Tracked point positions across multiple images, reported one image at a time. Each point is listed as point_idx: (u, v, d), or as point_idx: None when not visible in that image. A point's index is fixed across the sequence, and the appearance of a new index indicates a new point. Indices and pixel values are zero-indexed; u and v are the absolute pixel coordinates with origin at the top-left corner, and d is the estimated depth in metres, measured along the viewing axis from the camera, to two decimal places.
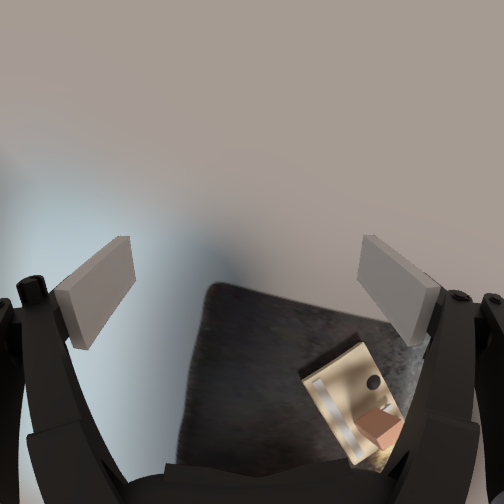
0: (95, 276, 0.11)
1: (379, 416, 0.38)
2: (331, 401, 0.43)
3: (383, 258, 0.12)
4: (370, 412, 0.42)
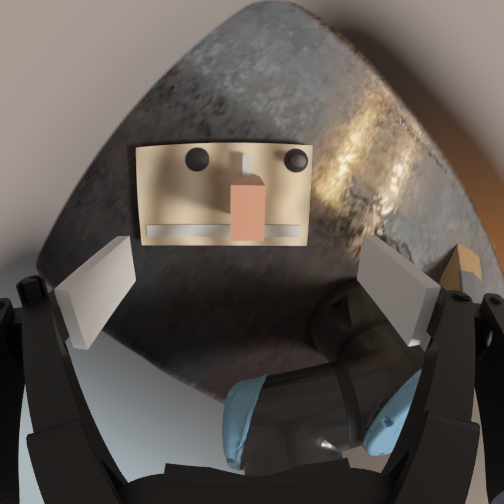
0: (95, 276, 0.11)
1: None
2: (184, 227, 0.36)
3: (383, 258, 0.12)
4: None
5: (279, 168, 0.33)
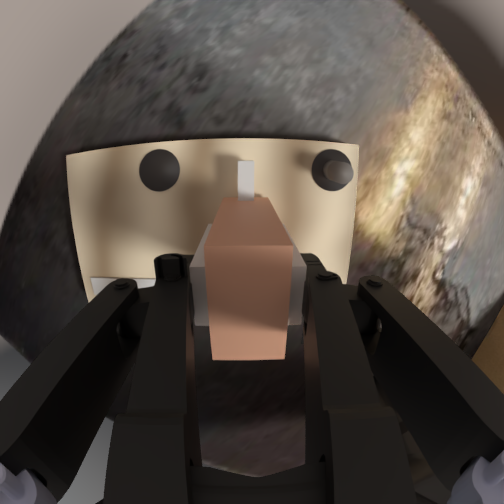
0: None
1: None
2: (145, 282, 0.21)
3: None
4: None
5: (303, 183, 0.19)
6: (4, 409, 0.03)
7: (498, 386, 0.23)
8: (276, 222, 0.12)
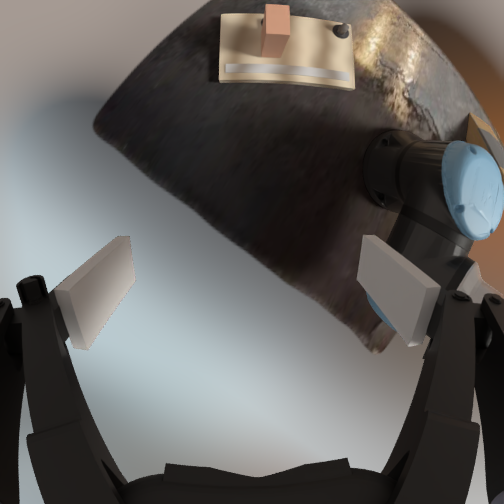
0: (95, 276, 0.11)
1: None
2: (258, 65, 0.37)
3: (383, 258, 0.12)
4: (261, 37, 0.34)
5: (329, 34, 0.35)
6: None
7: None
8: None
